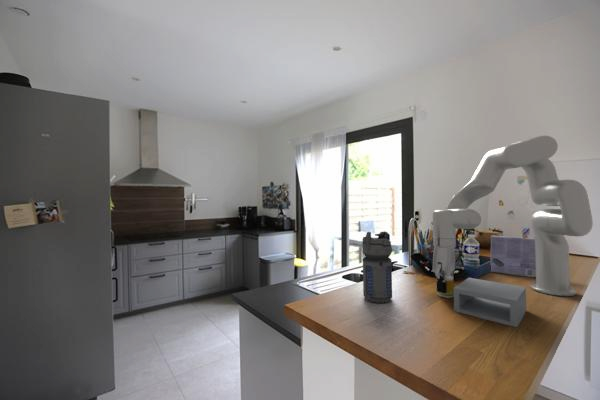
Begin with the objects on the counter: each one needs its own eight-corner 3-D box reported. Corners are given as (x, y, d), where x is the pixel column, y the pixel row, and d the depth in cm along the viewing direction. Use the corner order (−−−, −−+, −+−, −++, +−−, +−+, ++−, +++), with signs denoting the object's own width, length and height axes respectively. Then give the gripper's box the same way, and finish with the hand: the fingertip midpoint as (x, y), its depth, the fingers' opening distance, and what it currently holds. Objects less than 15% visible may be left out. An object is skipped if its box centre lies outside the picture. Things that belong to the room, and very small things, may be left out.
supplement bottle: (456, 298, 97) (455, 271, 97) (440, 297, 98) (439, 271, 98) (450, 293, 102) (450, 268, 102) (435, 292, 103) (435, 267, 103)
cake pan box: (542, 276, 121) (541, 237, 122) (543, 279, 118) (542, 239, 118) (491, 270, 134) (490, 235, 134) (490, 272, 130) (489, 236, 130)
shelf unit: (469, 298, 97) (468, 277, 97) (526, 310, 85) (525, 287, 85) (454, 310, 86) (453, 287, 86) (517, 327, 74) (516, 300, 75)
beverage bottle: (401, 297, 99) (399, 230, 99) (380, 307, 90) (379, 233, 90) (377, 291, 107) (376, 228, 107) (356, 299, 98) (355, 231, 98)
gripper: (442, 239, 109) (443, 282, 109) (424, 244, 97) (425, 293, 97) (463, 240, 103) (464, 286, 103) (446, 246, 92) (447, 298, 92)
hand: (445, 289), depth 100 cm, fingers open, 6 cm apart
